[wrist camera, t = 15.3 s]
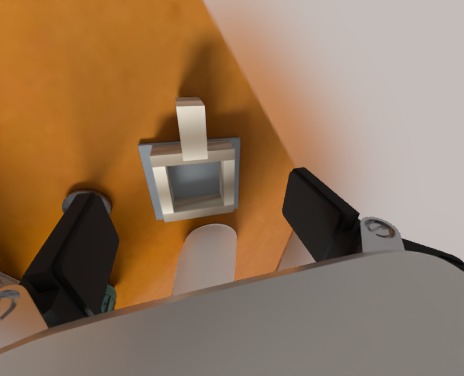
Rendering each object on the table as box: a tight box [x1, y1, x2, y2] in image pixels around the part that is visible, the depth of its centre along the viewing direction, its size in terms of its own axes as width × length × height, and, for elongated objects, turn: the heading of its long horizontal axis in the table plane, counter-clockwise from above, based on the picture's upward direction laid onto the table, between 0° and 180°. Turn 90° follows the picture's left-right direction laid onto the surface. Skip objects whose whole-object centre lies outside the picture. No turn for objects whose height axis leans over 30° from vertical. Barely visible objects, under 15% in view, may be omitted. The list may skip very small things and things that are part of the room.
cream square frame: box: [150, 97, 235, 222], centre depth 23 cm, size 14×9×5 cm, turn 0°
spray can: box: [171, 224, 237, 296], centre depth 24 cm, size 12×11×25 cm
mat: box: [138, 137, 240, 220], centre depth 27 cm, size 11×12×1 cm
